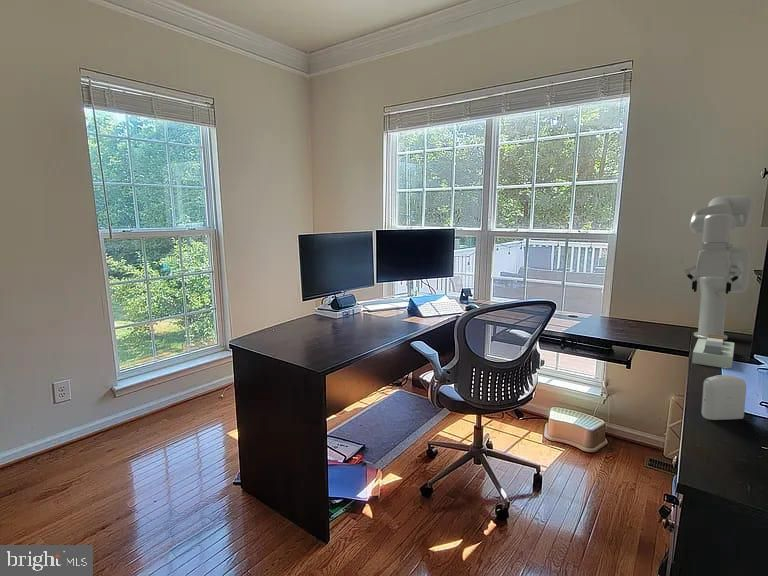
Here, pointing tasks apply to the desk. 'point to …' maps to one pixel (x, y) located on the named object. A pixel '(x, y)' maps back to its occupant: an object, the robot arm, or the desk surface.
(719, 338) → the walnut key
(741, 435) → the desk surface
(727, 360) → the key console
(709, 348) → the slate key
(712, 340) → the white key
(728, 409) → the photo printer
